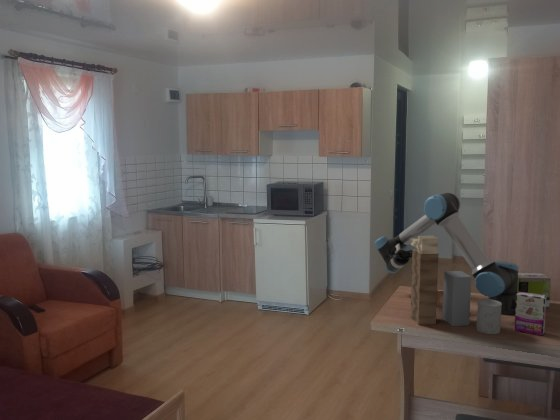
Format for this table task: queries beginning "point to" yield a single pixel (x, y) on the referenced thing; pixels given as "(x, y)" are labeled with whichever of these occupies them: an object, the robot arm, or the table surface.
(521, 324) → the candy bar box
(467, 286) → the grey pedestal
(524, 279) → the tea box
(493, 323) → the concrete cylinder
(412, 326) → the table surface
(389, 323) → the table surface
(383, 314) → the table surface
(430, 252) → the tan wooden bar
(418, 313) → the walnut plinth
